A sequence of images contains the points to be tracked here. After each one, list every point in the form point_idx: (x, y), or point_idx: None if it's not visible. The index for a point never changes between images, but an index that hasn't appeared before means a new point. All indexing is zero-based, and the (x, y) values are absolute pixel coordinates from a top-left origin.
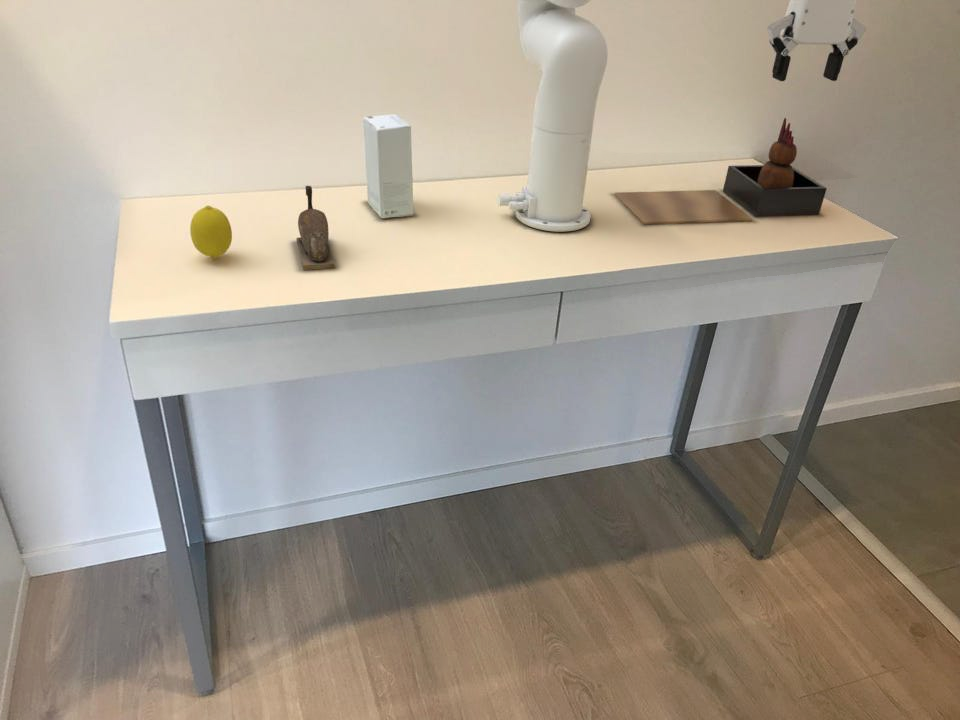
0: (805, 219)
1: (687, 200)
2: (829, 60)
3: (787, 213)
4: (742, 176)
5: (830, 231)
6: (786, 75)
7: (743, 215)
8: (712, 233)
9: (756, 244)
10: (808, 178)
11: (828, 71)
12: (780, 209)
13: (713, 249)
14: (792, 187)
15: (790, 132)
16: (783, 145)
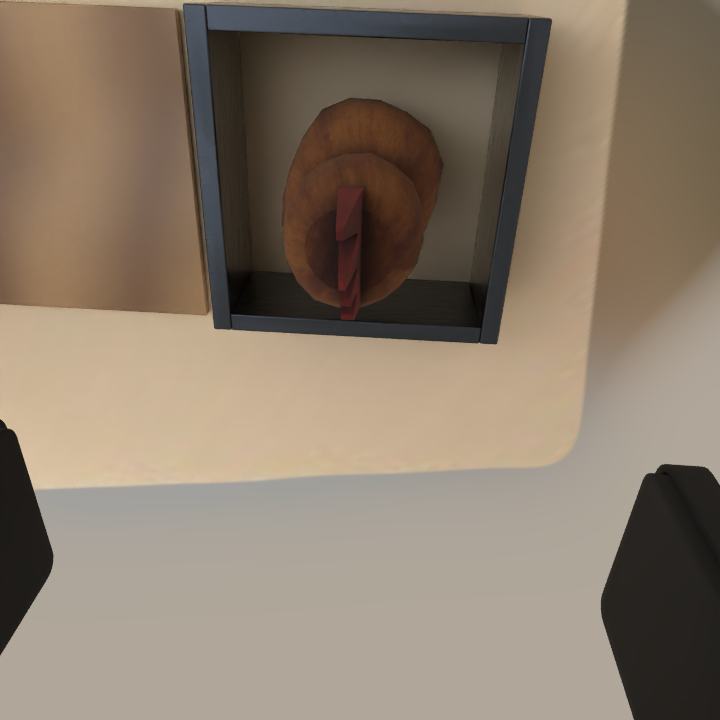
0: None
1: (13, 123)
2: (716, 688)
3: None
4: (198, 165)
5: (426, 408)
6: (28, 608)
7: (188, 287)
8: (49, 373)
9: (155, 446)
10: (501, 234)
11: (650, 586)
12: None
13: (26, 454)
14: (499, 126)
15: (341, 304)
16: (317, 282)
